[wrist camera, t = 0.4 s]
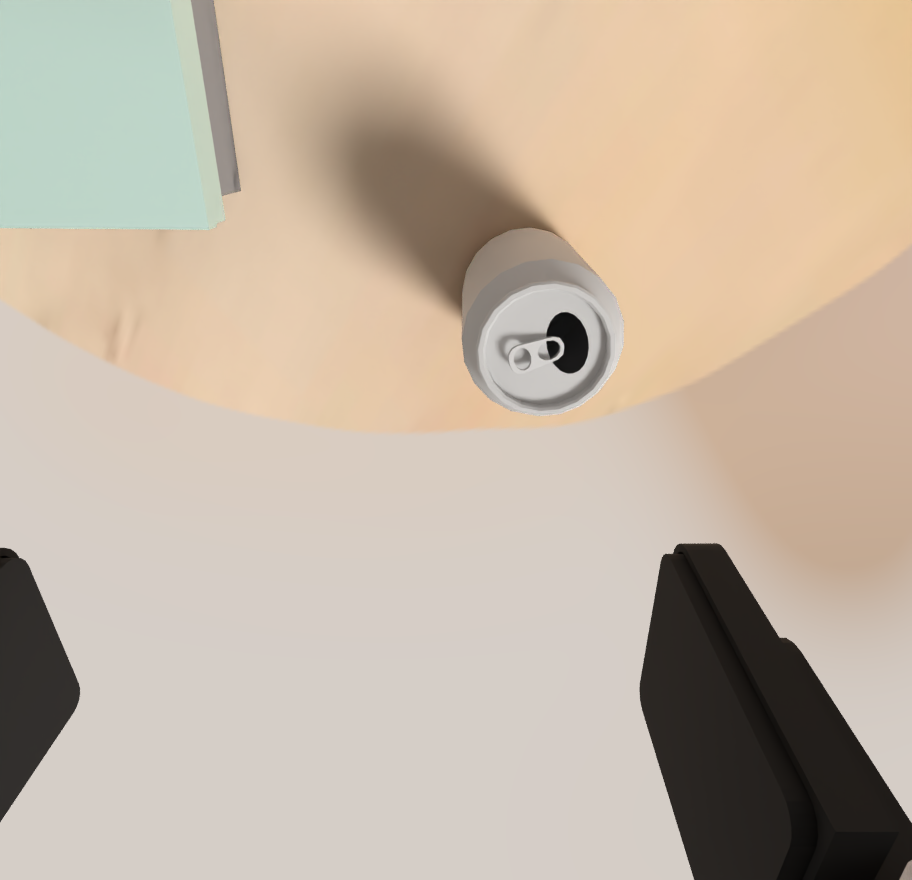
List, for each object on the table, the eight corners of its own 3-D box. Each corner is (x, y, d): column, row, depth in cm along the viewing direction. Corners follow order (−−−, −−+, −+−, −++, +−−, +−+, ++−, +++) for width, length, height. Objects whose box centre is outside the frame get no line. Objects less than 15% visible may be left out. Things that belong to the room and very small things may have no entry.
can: (594, 331, 38) (644, 409, 28) (479, 360, 39) (485, 446, 29) (572, 209, 35) (620, 245, 24) (447, 245, 36) (441, 293, 25)
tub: (-17, -53, 30) (-144, -100, 24) (206, -51, 30) (137, -99, 24) (49, 189, 35) (-41, 202, 29) (240, 190, 35) (192, 204, 29)
